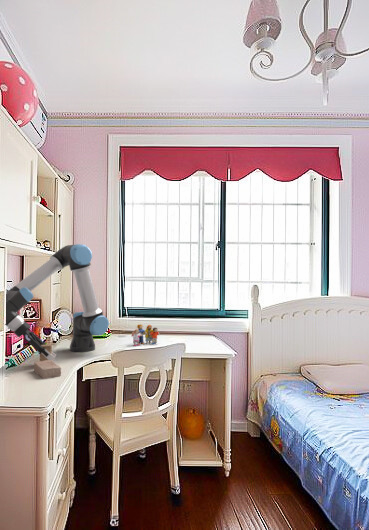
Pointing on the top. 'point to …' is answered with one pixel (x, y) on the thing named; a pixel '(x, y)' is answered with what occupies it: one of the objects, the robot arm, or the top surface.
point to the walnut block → (48, 348)
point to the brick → (47, 369)
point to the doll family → (150, 335)
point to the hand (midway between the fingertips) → (53, 358)
